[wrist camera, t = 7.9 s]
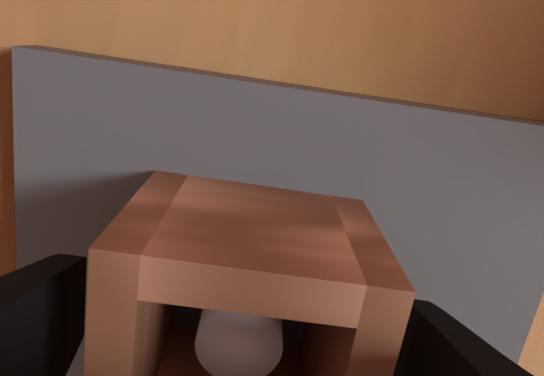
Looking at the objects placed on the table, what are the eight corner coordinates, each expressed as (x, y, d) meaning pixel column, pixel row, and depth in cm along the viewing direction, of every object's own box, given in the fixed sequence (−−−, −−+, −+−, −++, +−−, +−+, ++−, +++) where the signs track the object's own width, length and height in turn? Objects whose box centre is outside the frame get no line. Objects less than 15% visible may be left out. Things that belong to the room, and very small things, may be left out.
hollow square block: (362, 199, 12) (416, 292, 8) (324, 370, 13) (350, 527, 9) (155, 170, 12) (88, 248, 7) (141, 347, 13) (79, 498, 9)
